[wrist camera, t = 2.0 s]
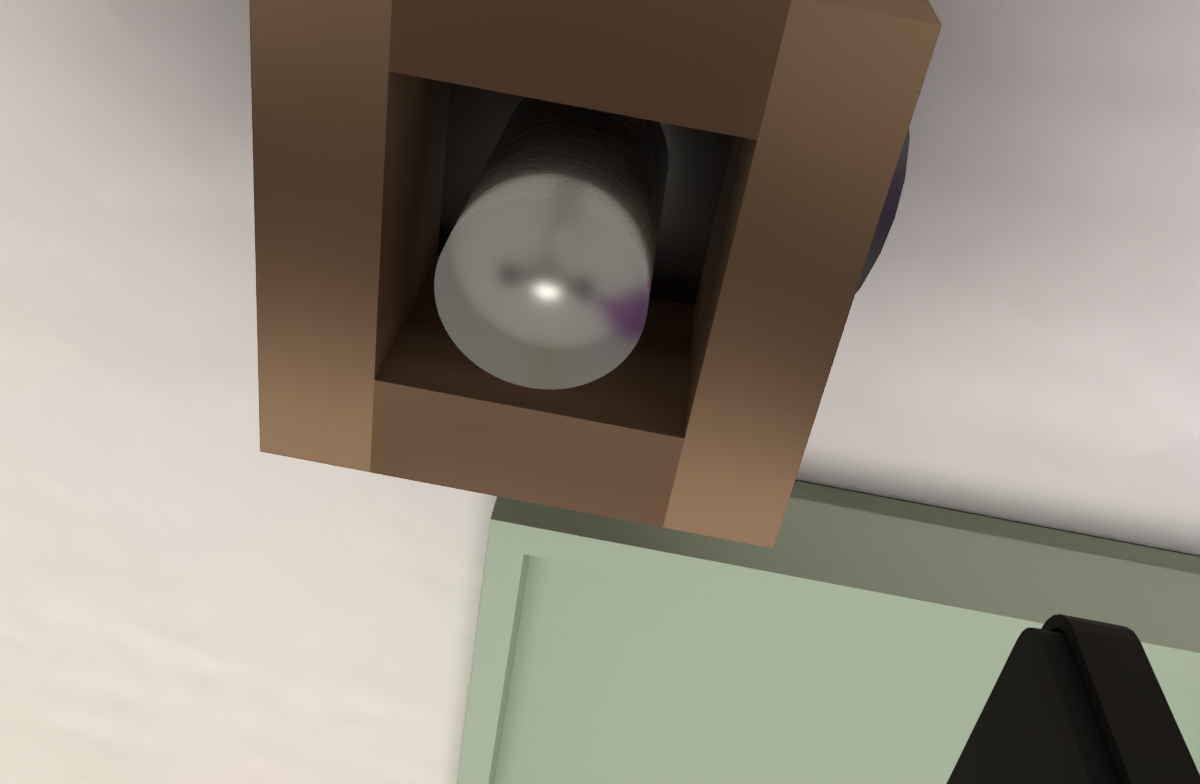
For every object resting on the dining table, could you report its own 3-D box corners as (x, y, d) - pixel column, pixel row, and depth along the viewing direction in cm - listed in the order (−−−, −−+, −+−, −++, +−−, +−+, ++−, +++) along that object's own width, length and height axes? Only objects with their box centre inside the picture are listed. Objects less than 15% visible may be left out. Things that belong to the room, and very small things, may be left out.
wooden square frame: (350, -154, 14) (247, -106, 11) (899, -51, 14) (941, 24, 11) (338, 322, 18) (260, 451, 15) (767, 403, 18) (772, 548, 15)
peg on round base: (292, -264, 14) (104, -231, 10) (993, -133, 14) (1101, -47, 10) (294, 338, 19) (169, 527, 15) (811, 435, 19) (829, 652, 15)
